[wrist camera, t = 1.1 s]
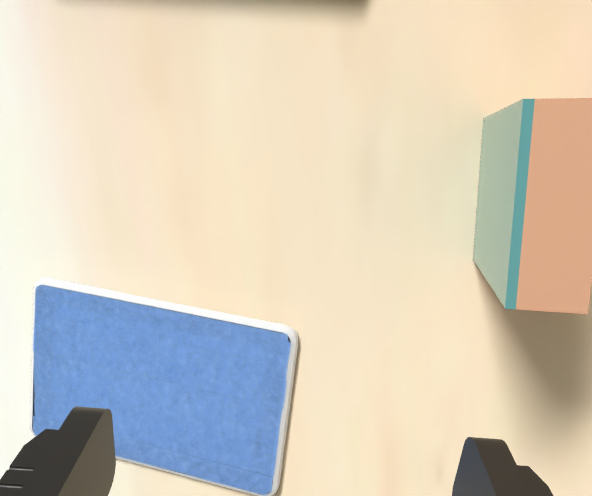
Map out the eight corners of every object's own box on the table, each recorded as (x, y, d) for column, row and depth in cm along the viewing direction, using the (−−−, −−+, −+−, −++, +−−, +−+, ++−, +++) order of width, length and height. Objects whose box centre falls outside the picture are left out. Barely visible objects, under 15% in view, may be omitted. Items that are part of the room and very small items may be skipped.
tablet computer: (37, 430, 39) (25, 439, 38) (41, 272, 37) (28, 276, 36) (280, 492, 36) (275, 504, 35) (302, 322, 33) (298, 329, 32)
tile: (483, 118, 28) (523, 98, 19) (541, 118, 28) (613, 98, 18) (472, 259, 30) (504, 308, 20) (527, 262, 29) (588, 314, 20)
